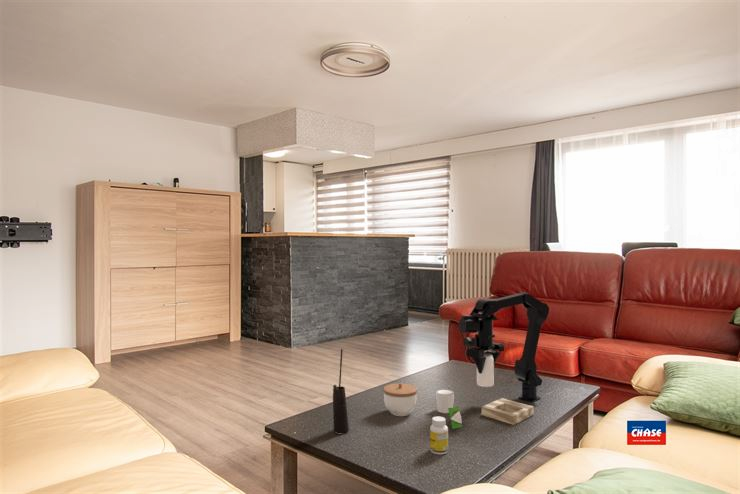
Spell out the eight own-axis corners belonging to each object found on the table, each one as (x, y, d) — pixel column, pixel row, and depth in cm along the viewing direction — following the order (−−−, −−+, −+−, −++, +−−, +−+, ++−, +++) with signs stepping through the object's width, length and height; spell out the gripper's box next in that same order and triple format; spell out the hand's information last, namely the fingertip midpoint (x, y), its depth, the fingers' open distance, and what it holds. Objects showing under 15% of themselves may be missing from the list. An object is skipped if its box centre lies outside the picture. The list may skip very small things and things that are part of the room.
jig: (501, 405, 178) (501, 398, 178) (533, 414, 169) (533, 406, 169) (481, 414, 168) (481, 406, 168) (513, 424, 159) (513, 416, 159)
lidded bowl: (424, 412, 171) (424, 382, 171) (402, 421, 162) (402, 390, 162) (398, 404, 180) (398, 376, 180) (376, 413, 171) (376, 383, 171)
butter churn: (321, 427, 157) (321, 345, 157) (347, 423, 161) (347, 343, 161) (329, 437, 148) (329, 351, 148) (356, 433, 152) (356, 348, 152)
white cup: (454, 414, 169) (454, 395, 169) (435, 413, 170) (435, 394, 170) (454, 408, 176) (454, 389, 176) (436, 406, 177) (436, 388, 177)
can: (475, 386, 178) (475, 355, 178) (478, 381, 184) (478, 352, 184) (492, 388, 176) (492, 357, 176) (494, 383, 182) (494, 353, 182)
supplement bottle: (428, 447, 141) (428, 415, 141) (445, 446, 142) (445, 415, 142) (432, 455, 136) (432, 422, 136) (450, 454, 136) (450, 421, 136)
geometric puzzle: (438, 416, 161) (446, 403, 157) (455, 414, 164) (462, 400, 159) (447, 435, 156) (455, 421, 151) (464, 431, 158) (472, 418, 154)
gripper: (480, 326, 192) (480, 363, 192) (453, 332, 179) (453, 372, 179) (504, 329, 184) (504, 368, 184) (478, 336, 171) (478, 378, 171)
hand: (485, 371), depth 180 cm, fingers closed on can, 6 cm apart
